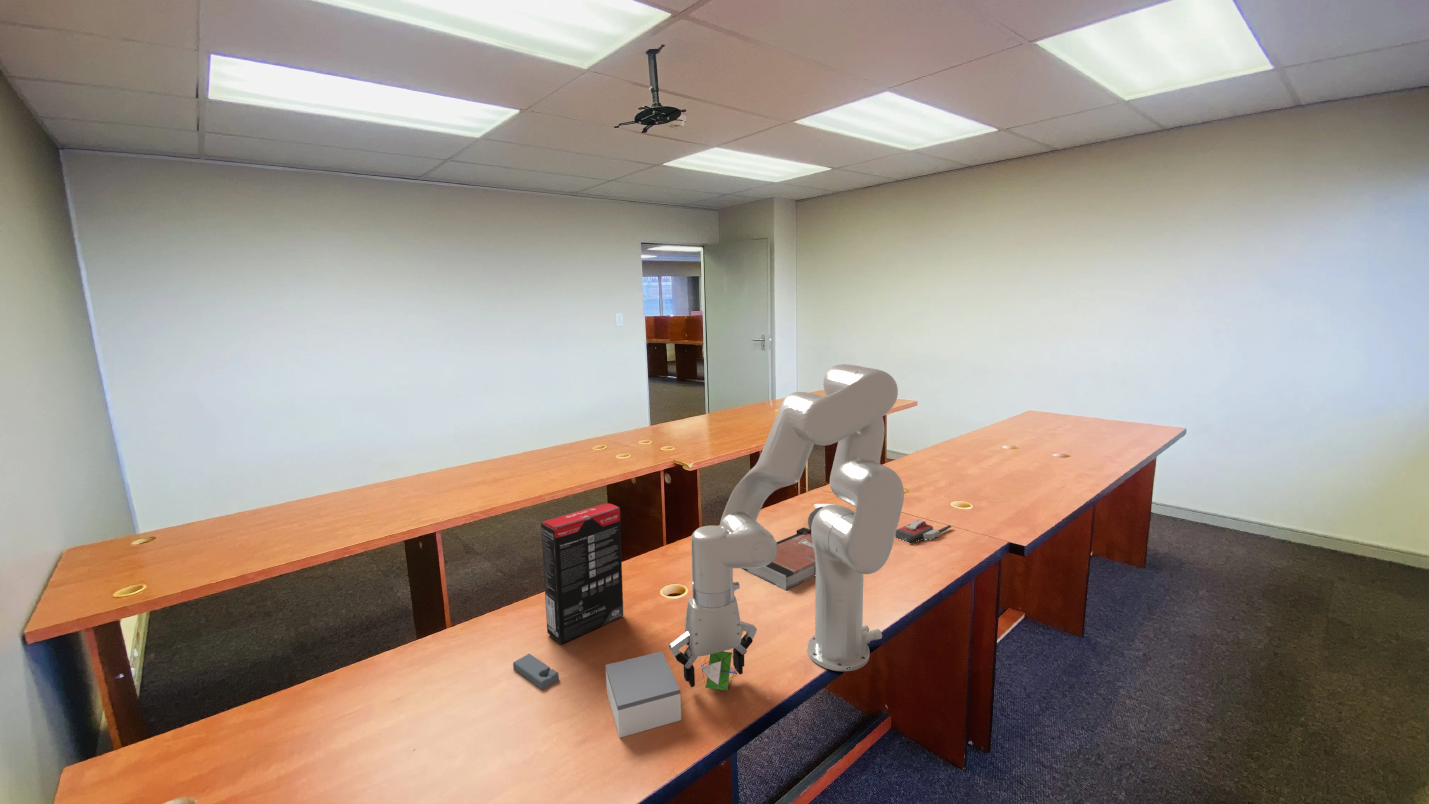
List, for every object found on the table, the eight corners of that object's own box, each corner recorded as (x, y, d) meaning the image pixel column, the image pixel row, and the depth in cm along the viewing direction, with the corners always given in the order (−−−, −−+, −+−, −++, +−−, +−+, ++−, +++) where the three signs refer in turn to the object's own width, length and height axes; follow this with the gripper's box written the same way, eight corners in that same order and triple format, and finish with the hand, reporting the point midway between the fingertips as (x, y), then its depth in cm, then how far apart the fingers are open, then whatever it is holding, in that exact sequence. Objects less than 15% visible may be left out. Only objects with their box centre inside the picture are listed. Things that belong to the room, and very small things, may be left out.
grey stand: (663, 679, 111) (661, 651, 110) (681, 720, 100) (680, 689, 99) (607, 693, 107) (605, 664, 106) (619, 737, 96) (617, 706, 95)
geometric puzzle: (701, 657, 114) (705, 639, 108) (735, 662, 114) (740, 644, 108) (697, 695, 108) (701, 677, 103) (732, 700, 108) (738, 682, 103)
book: (788, 593, 144) (788, 574, 143) (741, 570, 157) (740, 553, 156) (850, 561, 160) (851, 544, 159) (803, 542, 173) (803, 527, 173)
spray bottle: (808, 534, 179) (807, 508, 203) (843, 536, 178) (838, 509, 202) (808, 525, 179) (807, 500, 203) (843, 527, 177) (838, 501, 201)
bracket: (530, 661, 119) (529, 652, 118) (559, 681, 112) (558, 672, 112) (513, 670, 116) (512, 661, 115) (542, 691, 109) (541, 682, 109)
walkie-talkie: (916, 548, 167) (953, 531, 179) (916, 534, 166) (954, 518, 178) (891, 539, 174) (928, 523, 186) (891, 525, 173) (928, 510, 185)
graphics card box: (610, 606, 139) (604, 499, 134) (627, 616, 134) (621, 506, 129) (546, 635, 127) (537, 520, 122) (562, 648, 122) (553, 528, 117)
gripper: (747, 575, 112) (748, 654, 115) (662, 592, 106) (665, 675, 109) (763, 593, 105) (764, 677, 108) (673, 612, 99) (676, 700, 102)
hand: (714, 676), depth 108 cm, fingers open, 9 cm apart
